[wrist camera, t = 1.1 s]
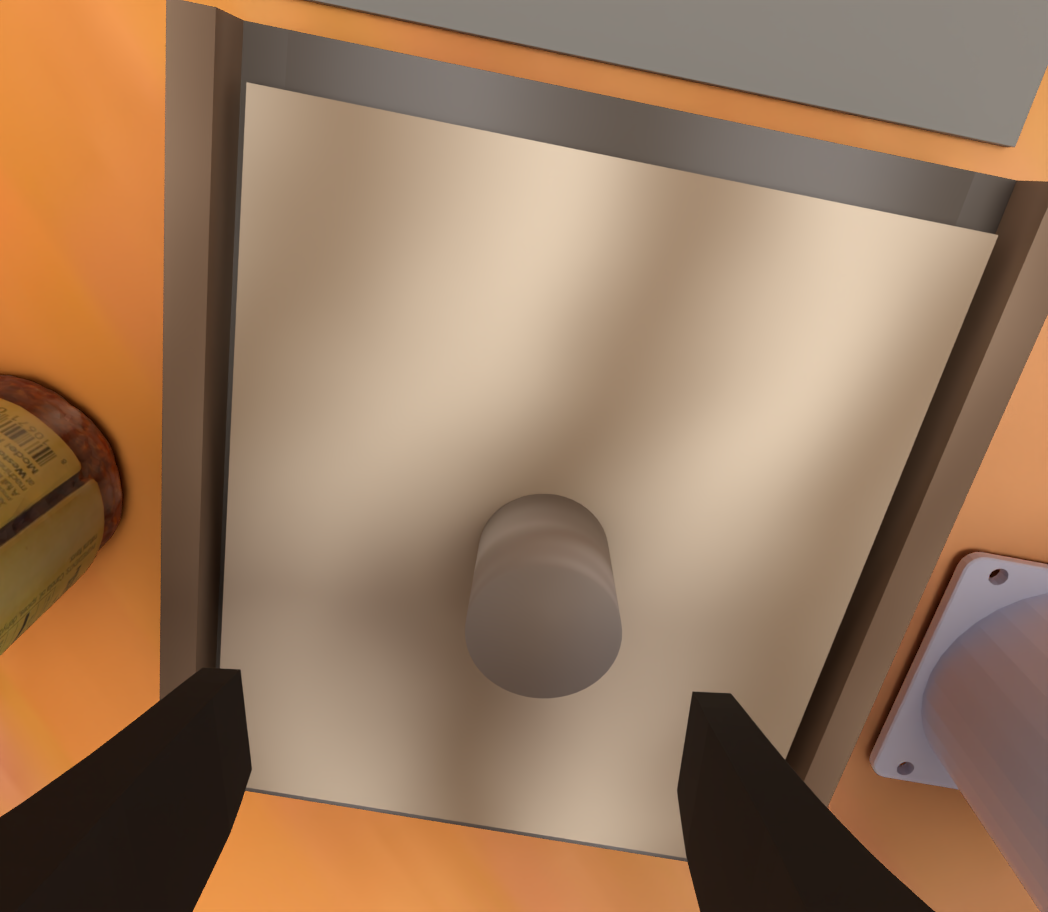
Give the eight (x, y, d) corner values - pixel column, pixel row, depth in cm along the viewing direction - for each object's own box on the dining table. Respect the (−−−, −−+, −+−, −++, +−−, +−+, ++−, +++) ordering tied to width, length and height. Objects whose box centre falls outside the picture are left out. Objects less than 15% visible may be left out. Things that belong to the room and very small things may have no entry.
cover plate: (975, 231, 14) (1117, 253, 11) (734, 840, 20) (775, 986, 16) (262, 86, 14) (164, 59, 10) (227, 758, 19) (156, 891, 16)
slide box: (949, 183, 18) (1102, 191, 13) (731, 764, 24) (779, 915, 19) (274, 44, 17) (166, -3, 12) (238, 682, 23) (158, 817, 19)
